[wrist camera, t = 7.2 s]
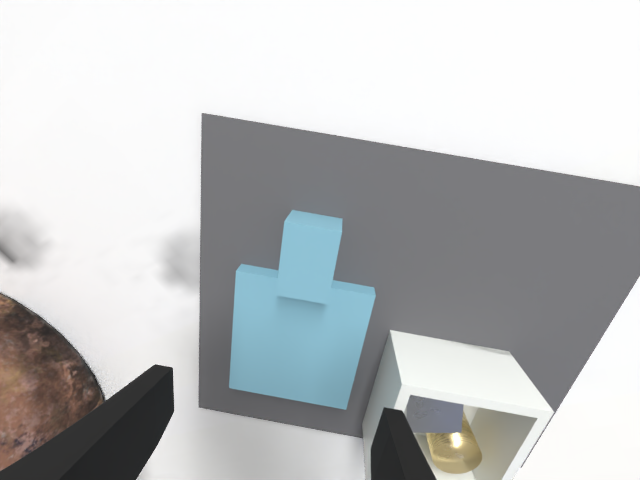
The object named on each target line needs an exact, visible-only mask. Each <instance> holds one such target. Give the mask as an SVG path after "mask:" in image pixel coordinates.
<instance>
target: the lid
mask: <svg viewBox="0 0 640 480" xmlns="http://www.w3.org/2000/svg"><path fill="white" fill-rule="evenodd" d="M341 235H342V218H336V217H330V216H325V215H319V214H313V213H307V212H302V211H296V210H292V211H291V212H290V214H289V215H288V217H287V218H286V220H285V221H284V228H283V237H282V245H281V254H280V262H279V270H273V269H268V268H262V267H257V266H251V265H245V264H241V265H240V266H239V267H238V269H237V270H236V278H235V295H234V312H233V329H232V345H231V362H230V379H229V388H232V389H237V390H242V391H248V392H253V393H258V394H264V395H269V396H275V397H280V398H285V399H291V400H296V401H301V402H307V403H312V404H318V405H323V406H328V407H334V408H339V409H344V410H346V408H347V405H348V401H349V397H350V393H351V389H352V385H353V381H354V378H355V374H356V370H357V366H358V362H359V358H360V354H361V351H362V347H363V343H364V339H365V335H366V331H367V328H368V324H369V320H370V316H371V312H372V308H373V304H374V301H375V297H376V294H375V289H374V287H369V286H364V285H358V284H352V283H347V282H341V281H335V280H333V276H334V271H335V265H336V260H337V255H338V250H339V245H340V240H341Z"/></svg>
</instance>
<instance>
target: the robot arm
mask: <svg viewBox="0 0 640 480" xmlns="http://www.w3.org/2000/svg"><path fill="white" fill-rule="evenodd" d="M173 412H174V393H173V368H172V367H166V366H161V365H156V364H155V365H154V366H152V367H151V368H149V369H148V370H147V371H145V372H144V373H143V374H141V375H140V376H139V377H137V378H136V379H135V380H133V381H132V382H131V383H129V384H128V385H127V386H125V387H124V388H123V389H121V390H120V391H119V392H117V393H116V394H114V395H113V396H112V397H110V398H109V399H108V400H106V401H105V402H103V403H102V404H101V405H99V406H98V407H97V408H95V409H94V410H92V411H91V412H90V413H88V414H87V415H85V416H84V417H83V418H81V419H80V420H78V421H77V422H75V423H74V424H72V425H71V426H70V427H68V428H67V429H65V430H64V431H62V432H61V433H59V434H58V435H56V436H55V437H53V438H52V439H50V440H49V441H47V442H46V443H44V444H43V445H41V446H40V447H38V448H37V449H35V450H33V451H32V452H30V453H29V454H27V455H26V456H24V457H22V458H21V459H19V460H18V461H16V462H14V463H13V464H11V465H10V466H8V467H6V468H5V469H3V470H1V471H0V480H136V479H137V477H138V475H139V474H140V472H141V471H142V469H143V467H144V466H145V464H146V463H147V461H148V459H149V458H150V456H151V455H152V453H153V451H154V450H155V448H156V446H157V445H158V443H159V441H160V439H161V437H162V435H163V433H164V431H165V429H166V427H167V425H168V423H169V421H170V419H171V417H172V415H173ZM371 480H437V479H436V477H435V475H434V473H433V472H432V470H431V468H430V466H429V464H428V462H427V460H426V458H425V456H424V454H423V452H422V450H421V448H420V446H419V444H418V442H417V440H416V438H415V436H414V433H413V431H412V429H411V427H410V425H409V423H408V421H407V418H406V416H405V414H404V413H403V411H402V410H397V409H392V408H386V407H384V408H383V411H382V414H381V417H380V421H379V424H378V427H377V430H376V433H375V436H374V439H373V442H372V445H371Z"/></svg>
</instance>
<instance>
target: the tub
mask: <svg viewBox="0 0 640 480" xmlns="http://www.w3.org/2000/svg"><path fill="white" fill-rule="evenodd" d="M410 395H415V396H420V397H426V398H431V399H437V400H442V401H447V402H453V403H458V404H464V406H463V410H464V413H465V415H466V418H467V420H468V422H469V425H470V427H471V429H472V432H473V434H474V436H475V439H476V441H477V444H478V446H479V448H480V451H481V453H482V461H481V463H480V464H479V466H478V467H476V468H475V469H474V470H472V471H469V472H466V473H461V474H452V473H447V472H444V471H441V470H440V469H438V468H437V467H436V466H435V465H434V463H433V460H432V457H431V453H430V449H429V445H428V441H427V438H426V434H425V433H414V436H415V438H416V440H417V442H418V444H419V446H420V448H421V450H422V452H423V454H424V456H425V458H426V460H427V462H428V464H429V466H430V468H431V470H432V472H433V473H434V475H435V477H436V479H437V480H513V479H514V477H515V475H516V474H517V472H518V470H519V469H520V467H521V466H522V464H523V462H524V461H525V459H526V457H527V456H528V454H529V452H530V451H531V449H532V448H533V446H534V444H535V443H536V441H537V439H538V438H539V436H540V435H541V433H542V431H543V430H544V428H545V426H546V425H547V423H548V422H549V420H550V418H551V417H552V415H553V413H554V411H553V410H552V408H551V407H550V406H549V404H548V403H547V402H546V400H545V399H544V398H543V396H542V395H541V394H540V392H539V391H538V390H537V388H536V387H535V386H534V384H533V383H532V382H531V380H530V379H529V377H528V376H527V375H526V373H525V372H524V371H523V369H522V368H521V367H520V365H519V364H518V363H517V361H516V360H515V359H514V357H513V356H512V355H511V353H510V352H509V351H504V350H498V349H493V348H487V347H482V346H476V345H471V344H465V343H459V342H454V341H448V340H443V339H437V338H432V337H426V336H421V335H415V334H409V333H404V332H398V331H393V330H390V331H389V335H388V338H387V341H386V345H385V348H384V352H383V355H382V358H381V362H380V365H379V369H378V372H377V375H376V379H375V382H374V386H373V389H372V392H371V396H370V399H369V403H368V406H367V409H366V413H365V416H364V420H363V423H362V429H363V446H364V463H365V480H371V445H372V442H373V439H374V436H375V433H376V430H377V427H378V424H379V421H380V417H381V414H382V411H383V408H384V407H386V408H392V409H397V410H402V411H403V413H404V411H405V408H406V405H407V403H408V400H409V397H410Z"/></svg>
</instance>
